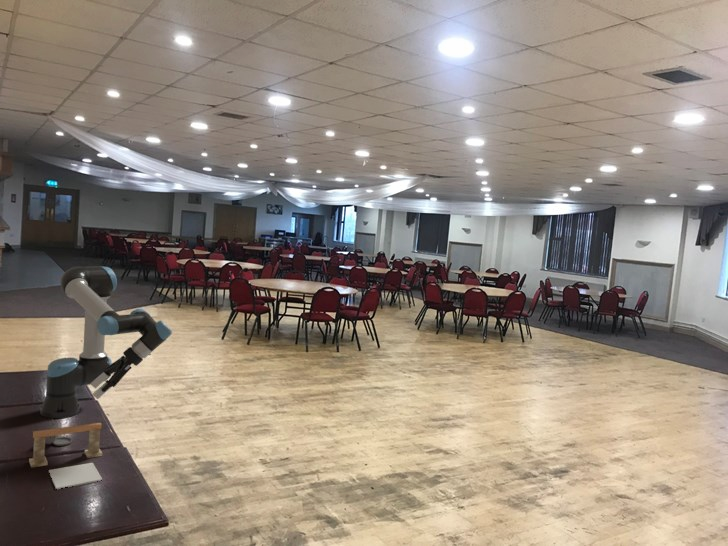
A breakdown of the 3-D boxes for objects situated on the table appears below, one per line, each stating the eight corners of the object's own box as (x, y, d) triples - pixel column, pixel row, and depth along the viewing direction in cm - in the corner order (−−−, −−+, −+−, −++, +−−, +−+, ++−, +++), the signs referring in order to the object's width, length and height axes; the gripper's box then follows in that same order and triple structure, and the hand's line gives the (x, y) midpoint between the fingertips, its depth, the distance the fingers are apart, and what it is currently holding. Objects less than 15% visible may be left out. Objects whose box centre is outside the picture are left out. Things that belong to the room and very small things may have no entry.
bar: (33, 438, 192) (33, 433, 192) (32, 436, 193) (33, 431, 193) (101, 428, 206) (101, 424, 206) (100, 427, 207) (100, 422, 207)
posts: (31, 467, 191) (32, 440, 190) (29, 462, 195) (30, 434, 194) (102, 455, 206) (103, 430, 205) (98, 450, 210) (100, 425, 209)
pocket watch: (75, 442, 215) (77, 417, 214) (57, 449, 207) (59, 424, 206) (60, 437, 217) (61, 413, 216) (41, 444, 209) (42, 419, 209)
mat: (48, 471, 190) (48, 470, 190) (92, 464, 199) (92, 462, 199) (56, 489, 179) (56, 488, 179) (102, 480, 188) (102, 479, 188)
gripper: (148, 367, 212) (103, 407, 206) (139, 351, 234) (98, 388, 227) (134, 354, 209) (88, 395, 203) (126, 339, 231) (85, 376, 224)
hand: (93, 391), depth 215 cm, fingers open, 13 cm apart
